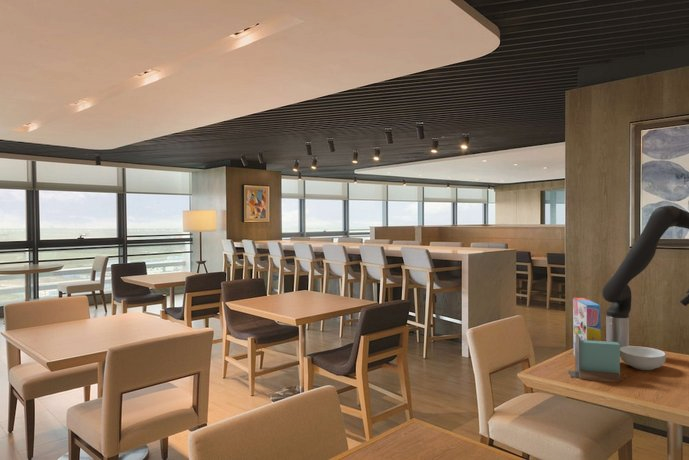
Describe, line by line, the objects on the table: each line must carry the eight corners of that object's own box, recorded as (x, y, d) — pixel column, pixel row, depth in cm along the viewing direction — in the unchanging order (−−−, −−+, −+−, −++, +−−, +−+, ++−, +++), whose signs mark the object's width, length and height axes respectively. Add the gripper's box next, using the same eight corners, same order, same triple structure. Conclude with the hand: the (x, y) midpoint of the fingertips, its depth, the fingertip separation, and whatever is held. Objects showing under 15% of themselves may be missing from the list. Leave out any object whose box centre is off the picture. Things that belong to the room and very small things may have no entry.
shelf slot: (575, 371, 192) (575, 342, 191) (612, 374, 187) (612, 344, 187) (579, 378, 182) (579, 348, 182) (619, 382, 178) (619, 351, 178)
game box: (601, 369, 193) (601, 305, 193) (587, 369, 194) (586, 305, 194) (585, 355, 213) (585, 297, 213) (572, 355, 215) (572, 297, 214)
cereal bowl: (618, 359, 207) (618, 343, 207) (662, 364, 199) (662, 348, 199) (620, 370, 192) (620, 353, 192) (668, 376, 184) (668, 358, 184)
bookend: (568, 371, 191) (567, 333, 191) (577, 372, 190) (577, 333, 190) (570, 377, 184) (570, 337, 184) (580, 377, 183) (580, 338, 183)
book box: (578, 373, 188) (578, 339, 188) (617, 376, 184) (617, 342, 184) (580, 376, 185) (580, 342, 184) (619, 380, 180) (619, 344, 180)
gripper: (704, 264, 182) (668, 294, 186) (720, 268, 169) (681, 299, 173) (720, 278, 181) (683, 308, 184) (737, 282, 168) (697, 314, 172)
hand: (682, 304), depth 179 cm, fingers closed
